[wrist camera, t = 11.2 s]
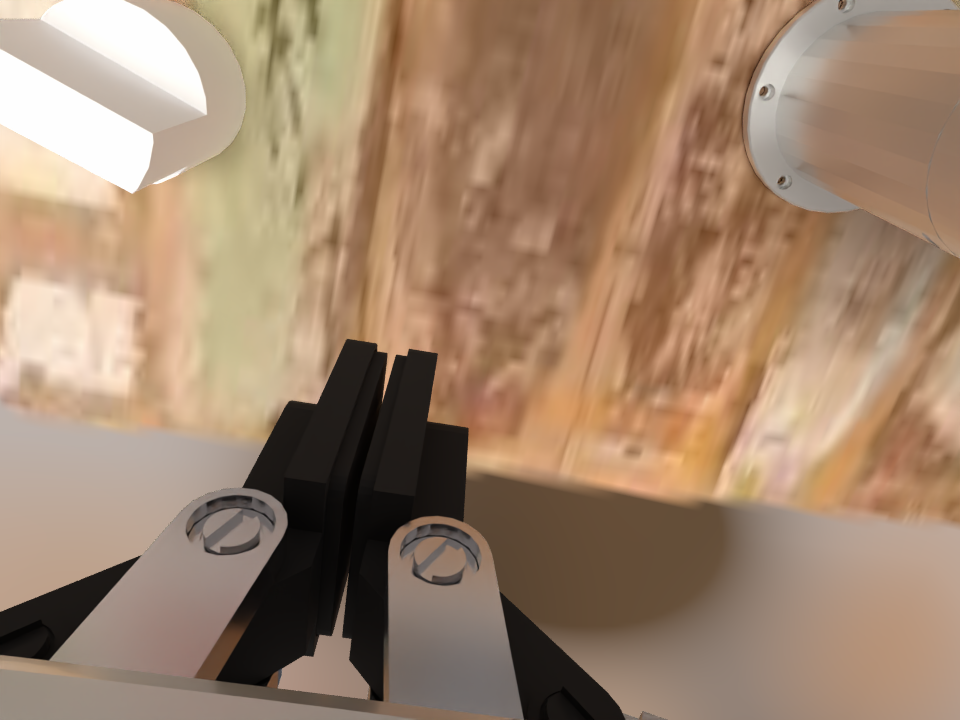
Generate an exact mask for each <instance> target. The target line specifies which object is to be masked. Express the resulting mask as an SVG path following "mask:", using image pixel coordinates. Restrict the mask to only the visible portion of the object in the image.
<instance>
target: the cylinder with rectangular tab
mask: <svg viewBox="0 0 960 720" xmlns="http://www.w3.org/2000/svg"><path fill="white" fill-rule="evenodd" d="M245 110H246V87H245V83H244V79H243V76H242V72H241V68H240V65H239V63H238V61H237V59H236V57H235V55H234V53H233V51H232V49H231V47H230V45H229V44H228V43H227V41H226V40H225V39H224V38H223V36H222V35H221V34H220V33H219V32H218V30H217V29H216V28H215V27H214V26H213V25H212V24H211V23H210V22H208V21H207V20H206V19H204V18H203V17H202V16H201V15H199V14H198V13H197V12H196V11H194V10H192V9H190V8H187V7H185V6H183V5H181V4H179V3H176V2H174V1H169V0H63V1H61V2H59V3H57V4H55V5H53V6H52V7H50V8H49V9H48V10H47V11H46V12H45V13H44V14H43V16H42V17H41V18H40V19H0V124H2V125H4V126H5V127H7V128H9V129H11V130H13V131H15V132H17V133H19V134H21V135H22V136H24V137H26V138H28V139H30V140H32V141H34V142H36V143H38V144H39V145H41V146H43V147H45V148H47V149H49V150H51V151H53V152H55V153H57V154H58V155H60V156H62V157H64V158H66V159H68V160H70V161H72V162H74V163H75V164H77V165H79V166H81V167H83V168H85V169H87V170H89V171H90V172H92V173H93V174H96V175H98V176H100V177H102V178H104V179H106V180H108V181H109V182H111V183H113V184H115V185H117V186H119V187H121V188H123V189H125V190H126V191H128V192H130V193H134V192H136V191H138V190H140V189H143V188H145V187H147V186H149V185H151V184H159V183H161V182H164V181H166V180H168V179H170V178H173V177H175V176H177V175H179V174H181V173H183V172H185V171H187V170H189V169H191V168H193V167H195V166H197V165H199V164H201V163H203V162H205V161H207V160H209V159H211V158H213V157H215V156H217V155H219V154H220V153H221V152H222V151H223V150H224V149H226V148H227V147H228V146H229V145H230V144H231V143H232V142H233V140H234V139H235V137H236V135H237V133H238V132H239V130H240V128H241V126H242V122H243V118H244V114H245Z"/></svg>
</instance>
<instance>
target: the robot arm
mask: <svg viewBox="0 0 960 720" xmlns="http://www.w3.org/2000/svg"><path fill="white" fill-rule="evenodd" d="M839 1H840V0H815V1H814V2H813V3H811V4H810V5H808V6H807V7H806V8H804V9H803V10H801V11H800V12H799V13H798V14H797V15H796V16H795V17H794V18H793V19H792V20H791V21H790V22H789V23H788V24H787V25H786V26H784V27H783V28H782V29H781V30H780V32H779V33H778V34H777V36H776V37H775V38H774V40H773V41H772V43H771V44H770V45H769V47H768V48H767V49H766V51H765V52H764V54H763V56H762V58H761V60H760V62H759V64H758V66H757V67H756V69H755V71H754V73H753V76H752V79H751V82H750V85H749V88H748V91H747V94H746V99H745V105H744V111H743V139H744V143H745V148H746V152H747V156H748V159H749V161H750V163H751V165H752V167H753V169H754V172H755V173H756V175H757V176H758V177H759V178H760V180H761V181H762V182H763V184H764V185H765V186H766V187H767V188H768V189H770V190H771V191H772V192H773V193H774V194H776V195H777V196H778V197H780V198H781V199H783V200H785V201H787V202H789V203H790V204H792V205H794V206H797V207H800V208H803V209H806V210H809V211H815V212H823V213H838V212H849V211H853V210H857V209H863V210H865V211H867V212H869V213H871V214H873V215H875V216H877V217H879V218H881V219H883V220H885V221H887V222H889V223H891V224H893V225H895V226H897V227H899V228H901V229H903V230H905V231H907V232H909V233H911V234H913V235H915V236H916V237H918V238H920V239H922V240H924V241H926V242H928V243H930V244H932V245H934V246H936V247H938V248H940V249H942V250H944V251H946V252H948V253H950V254H952V255H954V256H956V257H958V258H960V8H959V7H958V6H957V5H956V4H955V3H954V2H953V1H952V0H842V2H843V4H842V6H841V8H840V9H838V3H839ZM763 86H764V87H765V92H764V94H762V95H759V91H760V90H761V88H762V87H763ZM780 177H783V179H782V181H781V182H780V183H778V180H779V178H780ZM437 356H438V353H431V352H425V351H419V350H413V349H409V351H408V355H407V356H402V355H396V357H395V361H394V364H393V368H392V371H391V375H390V378H389V382H388V385H387V388H386V392H385V395H384V399H383V402H382V398H383V390H384V381H385V373H386V365H387V353H383V352H377V344H376V343H370V342H363V341H357V340H351V339H347V340H346V342H345V344H344V346H343V348H342V351H341V353H340V355H339V357H338V359H337V362H336V364H335V366H334V368H333V370H332V373H331V375H330V377H329V379H328V381H327V384H326V386H325V388H324V390H323V392H322V395H321V397H320V399H319V401H318V403H317V404H311V403H305V402H298V401H289V402H288V404H287V405H286V407H285V408H284V410H283V412H282V414H281V416H280V418H279V420H278V422H277V423H276V425H275V427H274V429H273V431H272V433H271V435H270V437H269V438H268V440H267V442H266V444H265V446H264V448H263V450H262V452H261V453H260V455H259V457H258V459H257V461H256V463H255V465H254V467H253V469H252V470H251V472H250V474H249V476H248V478H247V480H246V482H245V484H244V486H243V487H242V488H230V489H222V490H218V491H214V492H211V493H207V494H205V495H203V496H201V497H199V498H198V499H196V500H193V501H192V502H191V503H190V504H188V505H187V506H186V507H185V508H184V509H183V510H181V512H180V513H179V514H178V515H177V516H176V517H175V518H174V519H173V521H172V522H171V523H170V524H169V525H168V526H167V527H166V528H165V530H164V531H163V532H162V533H161V534H160V535H159V536H158V538H157V539H156V540H155V541H154V542H153V543H152V544H151V546H150V547H149V548H148V549H147V550H146V551H145V552H144V553H143V555H141V556H138V557H136V558H133V559H131V560H128V561H126V562H123V563H121V564H118V565H116V566H113V567H111V568H108V569H106V570H103V571H101V572H98V573H96V574H94V575H91V576H89V577H86V578H84V579H81V580H79V581H76V582H74V583H71V584H69V585H66V586H64V587H61V588H59V589H56V590H54V591H51V592H49V593H46V594H44V595H41V596H39V597H37V598H34V599H31V600H29V601H26V602H24V603H22V604H19V605H16V606H14V607H12V608H9V609H7V610H4V611H2V612H0V720H666V719H664V718H661V717H658V716H655V715H652V714H650V713H647V712H644V711H642V713H641V715H640V717H639V719H637V718H635V717H632V716H629V715H626V714H623V713H622V711H621V709H620V707H619V706H618V705H617V703H616V702H615V701H614V700H613V699H612V697H611V696H610V695H609V694H608V693H607V692H606V691H605V690H604V689H603V688H602V687H601V686H600V685H599V684H598V683H597V682H596V681H595V680H594V679H592V677H590V676H589V675H588V674H587V673H586V672H585V671H584V670H583V669H582V668H581V667H580V666H579V665H578V664H577V663H576V662H574V661H573V660H572V659H571V658H570V657H569V656H568V655H567V654H566V653H565V652H564V651H563V650H562V649H561V648H560V647H558V646H557V645H556V644H555V643H554V642H553V641H552V640H551V639H550V638H549V637H548V636H547V635H546V634H545V633H544V632H542V631H541V630H540V629H539V628H538V627H537V626H536V625H535V624H534V623H533V622H532V621H531V620H530V619H529V618H528V617H526V616H525V615H524V614H523V613H522V612H521V611H520V610H519V609H518V608H517V607H516V606H515V605H514V604H512V602H510V601H509V600H508V599H507V598H506V597H505V596H504V595H503V594H502V593H501V592H500V591H499V588H498V583H497V578H496V572H495V567H494V562H493V557H492V553H491V551H490V548H489V545H488V543H487V541H486V540H485V539H484V538H483V537H482V535H481V534H480V533H479V532H478V531H476V530H475V529H473V528H472V527H471V526H469V525H468V524H466V523H463V518H464V501H465V484H466V467H467V450H468V428H466V427H460V426H453V425H447V424H441V423H434V422H428V421H427V418H428V412H429V406H430V400H431V393H432V387H433V381H434V375H435V369H436V362H437ZM348 573H349V577H348ZM347 577H348V586H347V596H346V605H345V615H344V624H343V634H342V637H343V638H349V639H352V640H351V650H350V657H349V660H350V662H351V663H352V664H353V665H354V667H355V668H356V669H357V670H358V672H359V673H360V674H361V676H362V677H363V678H364V679H365V681H366V682H367V683H368V684H369V689H368V697H367V700H365V699H358V698H350V697H342V696H334V695H325V694H317V693H309V692H302V691H294V690H285V689H278V685H279V682H280V678H281V675H282V668H284V667H285V666H287V665H289V664H290V663H292V662H293V661H295V660H297V659H299V658H300V657H302V656H312V657H313V656H314V652H315V649H316V645H317V641H318V638H319V635H326V636H332V634H333V630H334V627H335V623H336V619H337V615H338V611H339V608H340V604H341V600H342V596H343V592H344V588H345V584H346V581H347Z"/></svg>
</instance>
